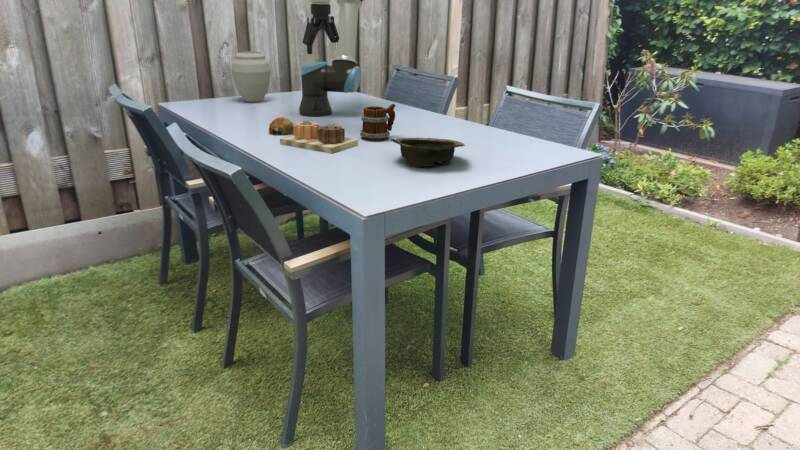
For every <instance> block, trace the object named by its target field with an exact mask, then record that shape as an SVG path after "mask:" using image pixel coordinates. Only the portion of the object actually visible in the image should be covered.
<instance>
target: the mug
mask: <svg viewBox="0 0 800 450" xmlns="http://www.w3.org/2000/svg"><path fill="white" fill-rule="evenodd" d="M395 107H396V104H395V103H391V104H390V105H388V107H383V106H374V105H373V106H365V107H363V114H362V115H361V116H360V117H361V121H362V128H361V129H360V131H359V135H360V137H361V140H364V141H367V142H384V141H386V140H387V141H388V139H389V136H390V135H391V133H390V132H391V131H392V129H393V125H394V122H395V118H396V111H395Z"/></svg>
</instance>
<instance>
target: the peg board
mask: <svg viewBox="0 0 800 450" xmlns="http://www.w3.org/2000/svg"><path fill="white" fill-rule="evenodd" d="M302 122H303V125H310V122H311V121H310V120H302ZM345 131H346V129H345V127H342V126H340V125H336V124H334V123H333V124H331V123H329V124H327V125H322V126H320V129H318V137H317V138H314V139H298V138H297V137H296V136H294V134H290V135H289V136H288V135H287V136H285V137H282V138H279V144H280V145H283V146H288V145H289V147H295V148H299V147H300V149H305V150H310V151H315V152H316V151H317V152H321V153H327V154H331V155H332V154H335V153H338V152H341V151H343V150H347V149H350V148H352V147H355V146H359V145H358V144H359V139H358V138H353V137H345V136H346V134H345Z"/></svg>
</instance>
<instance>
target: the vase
mask: <svg viewBox="0 0 800 450" xmlns="http://www.w3.org/2000/svg"><path fill="white" fill-rule="evenodd" d="M230 69H231V70H230V71H231V75H232V79H233V83H234V85H235V87H236V90H237V92H238V93H239V95H240V97H241V98H242V99H243V100H244V101H245V102H247V103H260V102H261V101H263V100H264V98H265V96H266V95H267V92H268V89H269V86H270V83H271V74H272V73H271V71H272V70H271V69H272V68H271V66H270V63H269V61H268V60H267V59H266V55H265V54H264V53H262V51H255V50H254V51H252V50H250V51H238V52H237V53H236V54H235V55H234V59H233V61H232V62H231V68H230Z"/></svg>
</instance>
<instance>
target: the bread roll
mask: <svg viewBox="0 0 800 450" xmlns="http://www.w3.org/2000/svg"><path fill="white" fill-rule="evenodd" d="M293 125H295V124H294V123H293V121H291V119H289V118H287V117H285V116H281V117H276V118H275V119H273V120H271V122H270V124H269V126H268V132H269V134H271V135H274V136H286V135H287V136H288V134H289V135H293V134H294V131H293Z"/></svg>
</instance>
